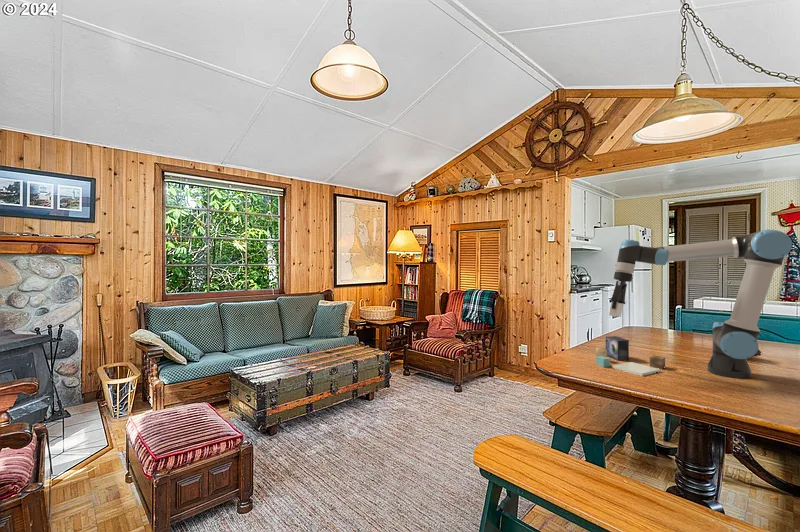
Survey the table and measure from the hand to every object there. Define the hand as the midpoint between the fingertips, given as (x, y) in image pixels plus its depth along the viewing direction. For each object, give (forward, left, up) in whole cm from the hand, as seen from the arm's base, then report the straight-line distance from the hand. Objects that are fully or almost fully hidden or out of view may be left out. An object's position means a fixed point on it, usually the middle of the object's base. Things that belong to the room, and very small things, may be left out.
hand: (614, 316), depth 182 cm
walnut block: (-8, -20, -25) cm, 33 cm away
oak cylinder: (+12, -7, -25) cm, 28 cm away
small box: (+12, -19, -25) cm, 34 cm away
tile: (-6, -7, -25) cm, 27 cm away
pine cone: (-18, -74, -25) cm, 80 cm away
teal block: (+6, 0, -25) cm, 26 cm away
